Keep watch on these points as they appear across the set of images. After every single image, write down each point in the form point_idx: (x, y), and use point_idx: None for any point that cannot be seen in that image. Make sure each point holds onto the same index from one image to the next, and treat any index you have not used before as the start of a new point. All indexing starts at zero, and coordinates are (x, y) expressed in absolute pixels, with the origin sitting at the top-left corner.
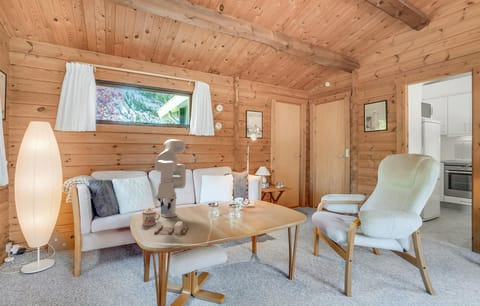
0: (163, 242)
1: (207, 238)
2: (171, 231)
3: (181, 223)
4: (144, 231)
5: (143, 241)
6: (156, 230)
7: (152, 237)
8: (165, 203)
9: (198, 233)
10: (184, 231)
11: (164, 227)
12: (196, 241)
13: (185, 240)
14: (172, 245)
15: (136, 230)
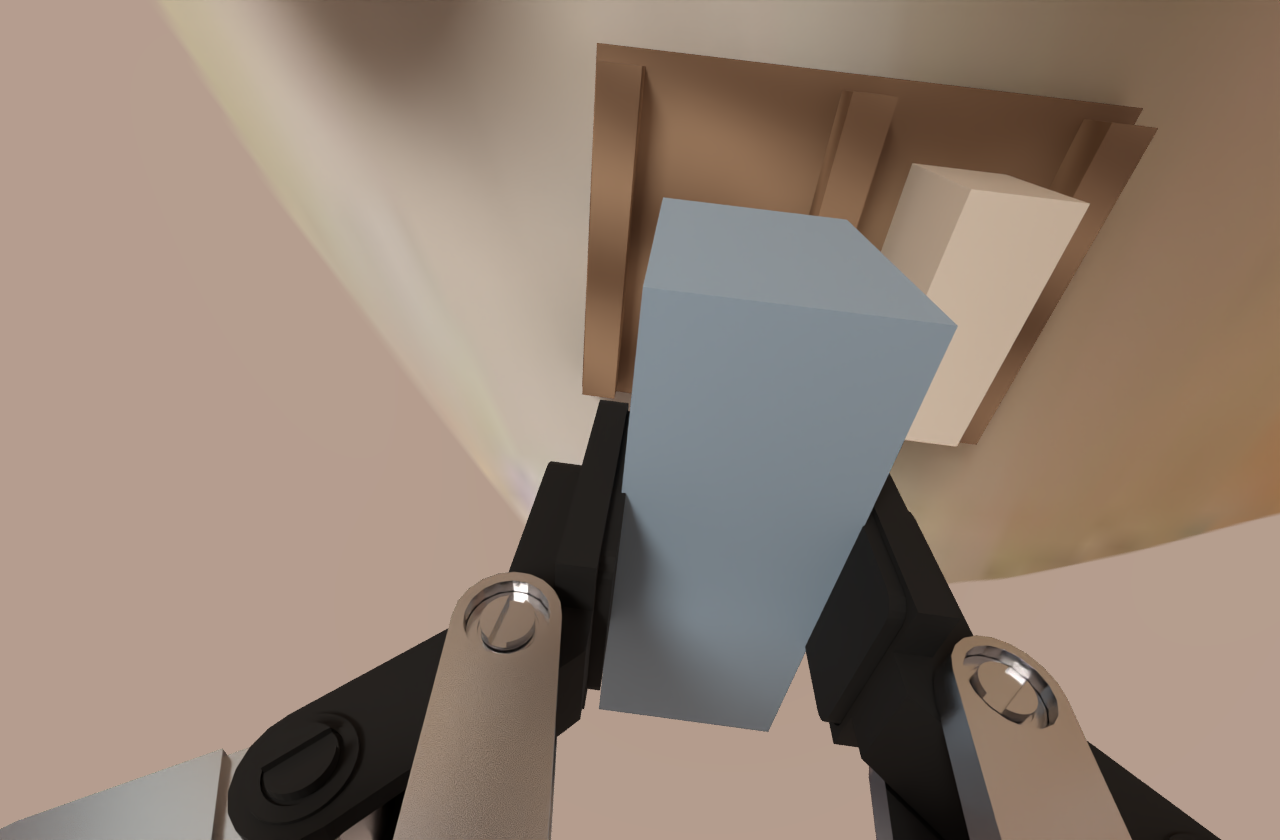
0: None
1: (1207, 492)
2: None
3: (1013, 341)
4: (400, 192)
5: (533, 501)
6: (596, 352)
7: (586, 417)
8: (675, 294)
9: (1193, 326)
10: (986, 415)
11: (676, 62)
12: (1042, 546)
13: (937, 516)
14: None
15: (257, 135)
